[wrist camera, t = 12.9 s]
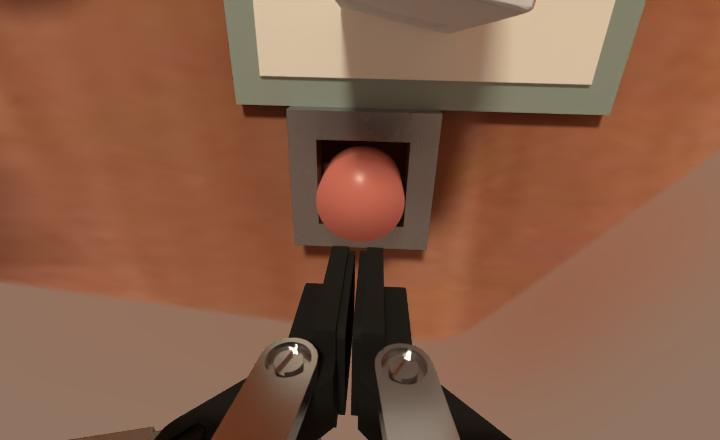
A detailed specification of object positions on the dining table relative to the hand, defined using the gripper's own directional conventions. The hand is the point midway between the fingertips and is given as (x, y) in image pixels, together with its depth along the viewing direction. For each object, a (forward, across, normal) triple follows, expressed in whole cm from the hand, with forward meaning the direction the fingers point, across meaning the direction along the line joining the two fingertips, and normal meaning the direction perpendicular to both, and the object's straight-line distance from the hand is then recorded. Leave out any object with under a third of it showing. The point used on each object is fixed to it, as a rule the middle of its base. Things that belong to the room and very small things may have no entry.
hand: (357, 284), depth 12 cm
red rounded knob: (+9, 0, 0) cm, 9 cm away
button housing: (+11, 0, 0) cm, 11 cm away
